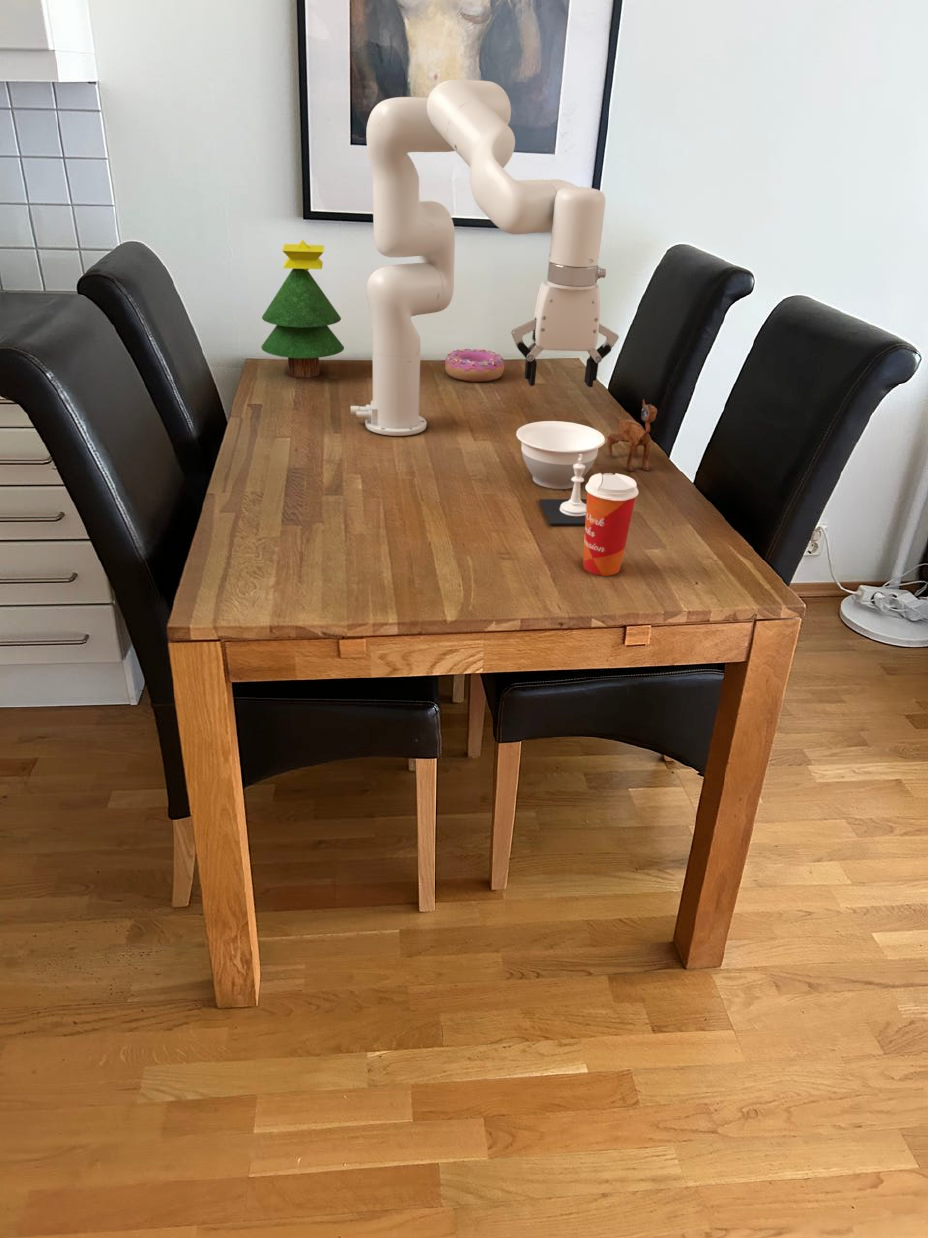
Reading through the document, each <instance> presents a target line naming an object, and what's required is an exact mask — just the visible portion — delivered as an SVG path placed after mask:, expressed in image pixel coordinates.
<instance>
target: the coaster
mask: <svg viewBox="0 0 928 1238" xmlns="http://www.w3.org/2000/svg"><path fill="white" fill-rule="evenodd" d="M570 499H571V498H540V499H539V504H540V507H541V508H542V511H543V513H544V516H545V517H546V519H547V522H548V524H549V526H550V527H585V520H586V515H584V516H570V515H566V514H564V513H562V512H561V511H560V506H561V504H562V503H563V502H566V501H568V500H570ZM580 500H581V501H582V503H584V504H587V498H580Z"/></svg>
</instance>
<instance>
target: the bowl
mask: <svg viewBox="0 0 928 1238" xmlns="http://www.w3.org/2000/svg"><path fill="white" fill-rule="evenodd" d="M516 438H517V439H518V440H519V441H520V442H521V445H520V446H521V447H520V448H521V454H522V458H523V462H524V464H525V466H526V467H527V469H528V471H529V472H530V474H531V476H532V481H533V482H534V483H535V484H536V485H538V486H542V487H544V488H548V489H554V490H567V489H573V487H574V483H575V482H573V481H572V480H571V479H572V477H574V476H575V473H574V469H573V465H574V464H578V459H579V454H582V460H581V464H583V465H585V469H584V471H583V474H582V476H581V477H582V478H584V477H585V476H586V474H588V473H589V472H590V470H591V469H592V467H593V465H594V464H595V462H596V460H597V459H596V458H597V457H598V452H599V448H601V447H602V446H604V445H605V444H606V439H605V436H604V434H603V433H602V432H600V431H599V430H597V429H595V428H593V427H590V426H588V425H584V424H581V423H576V422H569V421H561V420H559V421H558V420H544V421H535V422H531V423H526V424H524V425H522V426H520V427H519V428H518V429H517V430H516Z"/></svg>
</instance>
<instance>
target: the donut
mask: <svg viewBox="0 0 928 1238" xmlns="http://www.w3.org/2000/svg"><path fill="white" fill-rule="evenodd" d="M444 362H445V363H444V367H445V368H444V369H445V372H446V374H447V375H448V376H450V377H451V378H453V379H456V380H458V381H459V380H460V381H464V382H473V383H475V382H476V383H482V382H483V383H485V382H491V381H494V380H497V379H499V378H500V377H502V375H503V373H504V370H505V363H504V357H502V355H500V354H499V353H497V352H495V351H491V350H485V349H477V348H474V349H471V348H465V349H456V350H453V351H451V352H449V353H447V354H446V358H445V361H444Z"/></svg>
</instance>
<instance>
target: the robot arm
mask: <svg viewBox="0 0 928 1238" xmlns="http://www.w3.org/2000/svg"><path fill="white" fill-rule="evenodd" d="M511 116H512V107H511V101H510V98H509V96H508V94H507V93H506V91H505V90H504V88H503V87H501V86H500V84H497V83H496V82H493V81H489V80H475V79H455V78H454V79H448V80H445V81H442V82H440V83H438V84H437V85H436V86H435V87H434V88H433V89H432V90H431V92H430V93H429V95H428V97H423V96H422V97H421V96H398V97H390V98H387V99H384V100H381V101H380V102H378V103H377V104H375V106H374V107H373V108H372V110H371V112H370V114H369V117H368V119H367V123H366V129H365V130H366V132H365V133H366V134H365V135H366V136H365V137H366V138H365V139H366V146H367V153H368V159H369V164H370V168H371V174H372V176H371V177H372V216H373V217H372V219H373V221H372V222H373V238H374V239H373V240H374V245H375V247H376V250H377V251H378V253H379V254H381V255H382V256H383V257H387V258H412V257H419V259H418V260H419V262H417V263H416V262H415V263H413V262H412V263H400V264H391V265H386V266H382V267H379V268H377V269H376V270H375V271H373V272H372V273H371V275H370V276H369V278H368V280H367V283H366V298H367V303H368V308H369V314H370V322H371V323H370V324H371V348H372V350H371V352H372V356H371V357H372V400H370V404H365V406H360V405H350V416H356V419H365V420H364V425H365V428H366V429H367V430H368V431H370V432H372V433H375V434H377V435H382V436H389V437H390V436H391V437H405V436H413V435H417V434H419V433H422V432H423V431H425V430H426V428H427V420H426V419H425V418H424V417H422V416H421V415H420V392H421V391H420V390H421V389H420V388H421V387H420V385H421V338H420V334H419V332H418V330H417V328H416V326H415V325H414V322H413V320H412V317H415V316H422V315H428V314H429V315H430V314H435V313H439V312H443V311H444V310H446V309H447V308H448V306H449V305H450V303H451V302H452V299H453V296H454V295H453V294H454V289H455V257H456V256H455V253H456V251H455V249H456V233H455V225H454V221H453V218H452V215H451V214H450V211H449V210H448V209H447V207H446V206H445V205H444V204H442V203H441V202H438V201H434V200H433V201H432V200H423V201H421V200H420V177H419V172H418V169H417V168H416V166H415V164H414V162H413V160H412V158H411V156H410V155H409V153H451V152H456V154H457V155H458V156H459V157H460V158H461V159H462V160H463V161H464V163H465V164H466V165H467V166H468V167H469V184H470V189H471V193H472V197H473V199H474V201H475V203H476V205H477V206H478V208H479V209H480V210H481V211H482V213H484V215H485V216H486V217H487V218H488V219H489V220H490V221H491V222H492V223H493V224H494V225H495V226H496V227H498V229H500V230H501V231H503V232H505V233H507V234H510V235H528V234H536V233H537V234H539V233H540V234H541V233H542V234H543V233H551V235H550V236H551V238H550V246H549V256H548V266H547V277H546V280H542V281H541V283H540V286H539V289H538V293H537V299H536V303H535V307H534V313H533V319H532V320H530V321H528V322H526V323H523V324H522V325H519V326H518V327H516V328H513V329H512V330H511V332H510V334H511V337H512V338H513V341H514V343H515V347H516V348H517V350H518V351H519V352H520V353H521V354H522V356H523V357H524V358H525V365H524V379H525V380H526V381H527V383H528V385H529V386H530V387H534V386H535V385H536V377H537V376H536V375H537V365H538V362H537V360H536V359H537V357H538V356H539V355H540V354H541V353H542V351H555V352H556V351H557V352H587V353H588V354H589V357H588V358H587V359H586V362H585V363H586V364H585V372H584V380H583V381H584V383H585V385H586V386H587V387H588V388H593V386H594V382H596V381H597V378H598V371H599V364H600V363H601V362H602V360H603V359H604V358H605V357H606V356H607V355H608V354H609V353H611V351H612V349H613V348H614V347H615V344H617V341H618V340H619V334H617V332H615V331H614V330H612V329H611V328H609V327H607V326H606V325H605V324H602V323H601V322H600V315H601V314H600V313H601V312H600V311H601V306H600V305H601V304H600V303H601V298H600V297H601V296H600V286H599V284H598V280H599V279H601V278H602V279H604V278H606V276H607V270H606V268H602V267H600V266H599V258H600V249H601V241H602V233H603V226H604V225H603V224H604V218H605V210H606V197H605V194H604V192H602V191H601V190H599V189H597V188H593V187H588V186H587V187H586V186H577V185H576V184H573V183H571V182H569V181H566V180H563V179H557V178H556V179H553V178H551V179H522V180H521V179H519V180H516V179H515V178H514V177H512V176H511V175H510V174H509V173H508V171H506V170H505V167H506V166H507V165H508V163H509V161H510V160H511V158H512V156H513V154H514V152H515V147H516V137H515V134H514V132H513V130H512V128H511V127H510V126H509V124H510V121H511ZM530 333H531V340H532V342H531V343H530V344H529V345H528V346H527V345H526V344H525V343H524V340H523V337H524V336H525V335H527V334H530ZM599 334H600V335H602V336H604V337H605V338H606V339H605V341H604V343H603V344H601V345H600V346H599V347H598V348H596V347H597V345H598V341H599V340H598V339H599Z"/></svg>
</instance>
